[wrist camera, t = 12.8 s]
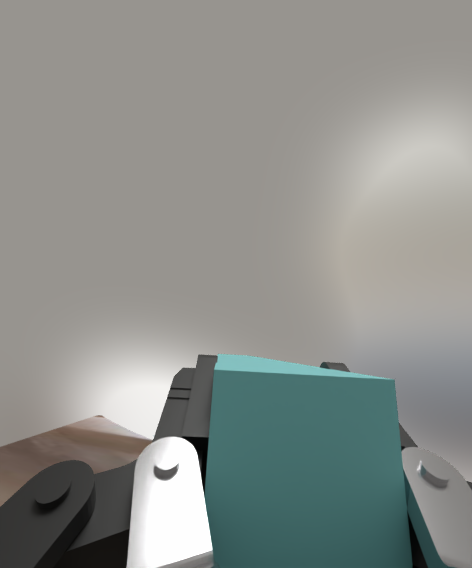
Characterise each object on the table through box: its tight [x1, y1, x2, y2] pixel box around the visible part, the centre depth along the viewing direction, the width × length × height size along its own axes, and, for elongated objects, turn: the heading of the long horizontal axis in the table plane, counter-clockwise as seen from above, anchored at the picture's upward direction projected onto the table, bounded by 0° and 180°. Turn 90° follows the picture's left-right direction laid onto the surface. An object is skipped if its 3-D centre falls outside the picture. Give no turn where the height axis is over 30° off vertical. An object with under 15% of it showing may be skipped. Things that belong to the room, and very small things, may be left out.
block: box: [204, 354, 413, 568], centre depth 19 cm, size 28×4×4 cm, turn 4°
